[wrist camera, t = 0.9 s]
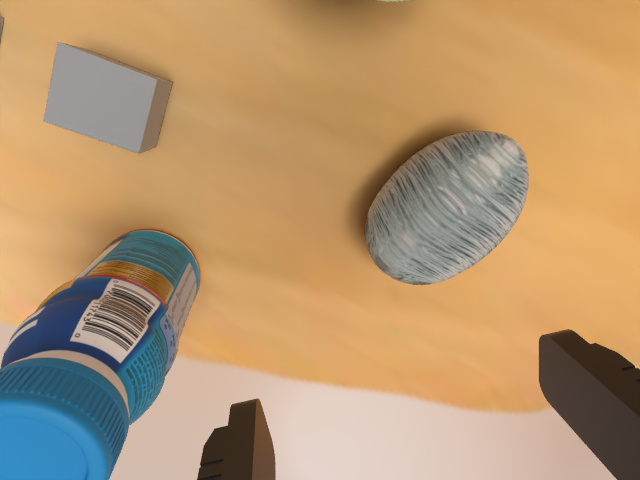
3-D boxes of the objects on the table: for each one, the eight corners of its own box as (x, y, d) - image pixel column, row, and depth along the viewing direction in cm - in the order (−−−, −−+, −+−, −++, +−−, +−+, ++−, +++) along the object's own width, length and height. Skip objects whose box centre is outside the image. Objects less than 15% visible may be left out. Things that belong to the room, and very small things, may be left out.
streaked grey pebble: (409, 315, 36) (441, 312, 26) (335, 234, 37) (340, 202, 27) (517, 214, 38) (586, 175, 28) (443, 141, 39) (484, 79, 29)
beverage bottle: (217, 301, 37) (161, 510, 18) (125, 328, 37) (-27, 569, 18) (181, 213, 34) (71, 354, 15) (81, 243, 34) (-154, 422, 15)
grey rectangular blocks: (-97, -21, 27) (-165, -43, 23) (172, 82, 31) (157, 79, 27) (-103, 57, 28) (-168, 49, 24) (156, 146, 32) (138, 153, 28)
